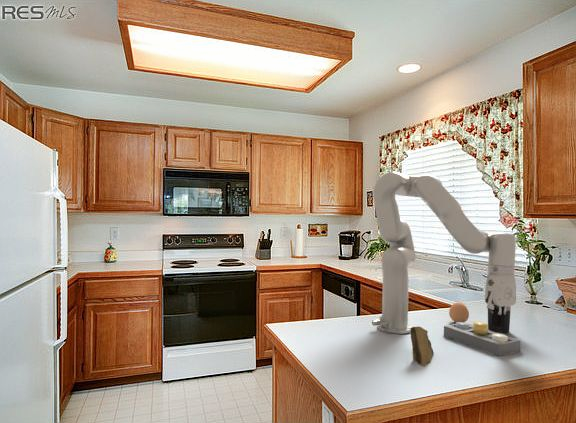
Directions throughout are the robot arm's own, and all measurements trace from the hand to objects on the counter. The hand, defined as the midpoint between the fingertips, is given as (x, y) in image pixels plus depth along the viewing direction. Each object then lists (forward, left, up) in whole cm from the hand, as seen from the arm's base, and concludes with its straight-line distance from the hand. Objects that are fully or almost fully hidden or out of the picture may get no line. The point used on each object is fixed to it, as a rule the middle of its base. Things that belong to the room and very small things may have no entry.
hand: (498, 325), depth 121 cm
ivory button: (0, -1, -6) cm, 6 cm away
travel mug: (+20, +13, -8) cm, 25 cm away
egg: (+14, +26, -8) cm, 31 cm away
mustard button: (0, +6, -4) cm, 8 cm away
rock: (-29, +4, -8) cm, 30 cm away
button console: (0, +6, -8) cm, 10 cm away
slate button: (0, +13, -6) cm, 15 cm away
